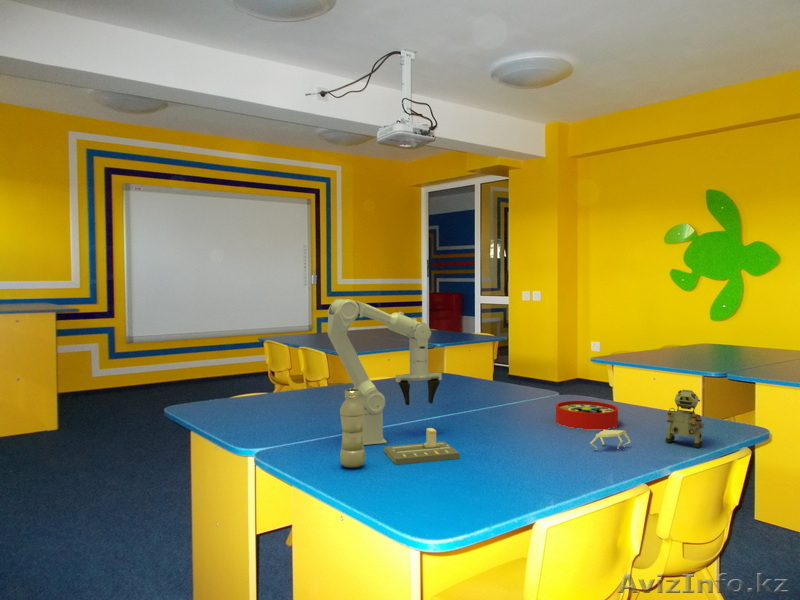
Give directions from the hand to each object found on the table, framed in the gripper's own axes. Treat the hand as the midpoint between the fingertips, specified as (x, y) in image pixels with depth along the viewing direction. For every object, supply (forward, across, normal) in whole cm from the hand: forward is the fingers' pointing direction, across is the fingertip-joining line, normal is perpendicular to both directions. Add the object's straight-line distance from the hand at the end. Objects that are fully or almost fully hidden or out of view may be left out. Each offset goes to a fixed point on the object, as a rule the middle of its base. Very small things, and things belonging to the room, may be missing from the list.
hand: (419, 403), depth 179 cm
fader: (+8, -3, -20) cm, 22 cm away
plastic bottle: (+10, -26, -24) cm, 37 cm away
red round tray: (+10, +58, -2) cm, 59 cm away
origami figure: (+10, +46, -30) cm, 56 cm away
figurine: (+10, +72, -32) cm, 79 cm away
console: (+10, -6, -20) cm, 23 cm away
